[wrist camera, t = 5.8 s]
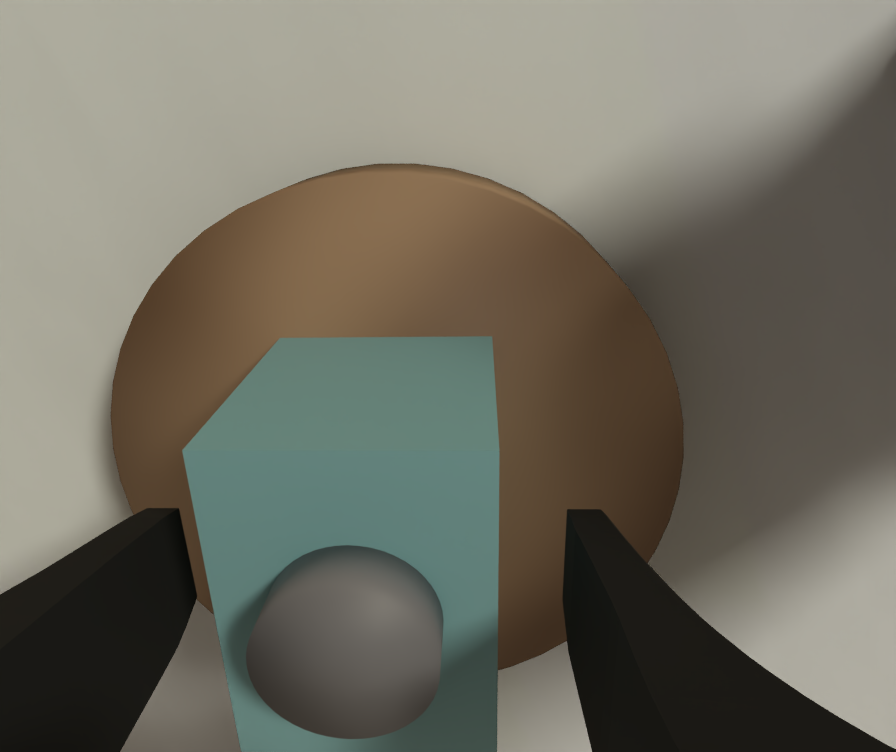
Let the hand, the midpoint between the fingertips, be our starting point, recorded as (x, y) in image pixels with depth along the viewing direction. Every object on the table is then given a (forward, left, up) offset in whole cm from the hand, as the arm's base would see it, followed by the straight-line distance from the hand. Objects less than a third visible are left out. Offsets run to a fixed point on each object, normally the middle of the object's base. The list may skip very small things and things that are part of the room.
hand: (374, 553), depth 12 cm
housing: (0, 0, -3) cm, 3 cm away
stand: (0, 0, -6) cm, 6 cm away
